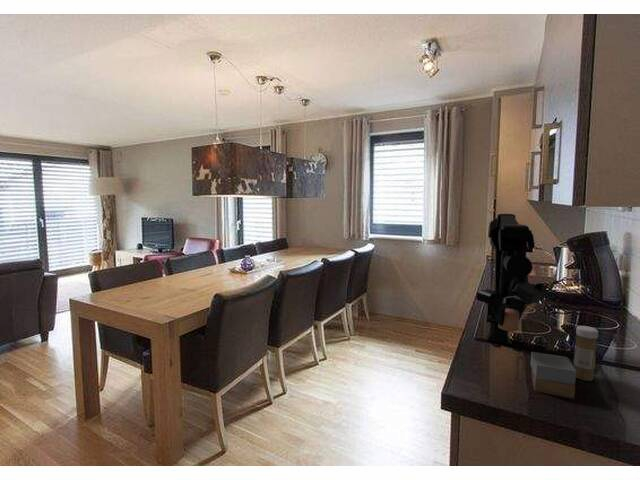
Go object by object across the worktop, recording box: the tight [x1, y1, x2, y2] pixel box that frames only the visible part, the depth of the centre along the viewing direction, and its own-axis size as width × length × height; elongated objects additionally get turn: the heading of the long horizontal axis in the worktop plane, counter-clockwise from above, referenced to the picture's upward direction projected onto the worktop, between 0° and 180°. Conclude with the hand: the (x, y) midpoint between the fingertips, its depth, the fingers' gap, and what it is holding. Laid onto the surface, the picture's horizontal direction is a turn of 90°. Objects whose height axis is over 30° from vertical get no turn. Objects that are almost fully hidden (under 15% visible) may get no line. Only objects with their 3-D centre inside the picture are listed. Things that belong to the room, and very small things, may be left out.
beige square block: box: [531, 369, 576, 400], centre depth 88 cm, size 8×8×4 cm
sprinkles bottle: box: [573, 325, 599, 382], centre depth 92 cm, size 5×5×13 cm
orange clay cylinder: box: [498, 308, 520, 332], centre depth 100 cm, size 5×5×5 cm
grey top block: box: [530, 351, 577, 386], centre depth 88 cm, size 8×8×4 cm
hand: (508, 324), depth 100 cm, fingers closed on orange clay cylinder, 5 cm apart
